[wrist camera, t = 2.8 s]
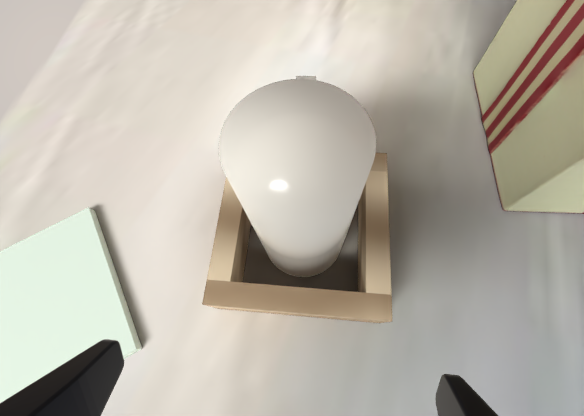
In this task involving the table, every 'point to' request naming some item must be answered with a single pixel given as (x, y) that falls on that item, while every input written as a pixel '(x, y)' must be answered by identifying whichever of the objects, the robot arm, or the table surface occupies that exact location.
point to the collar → (297, 300)
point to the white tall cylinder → (298, 168)
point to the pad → (58, 301)
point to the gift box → (536, 106)
